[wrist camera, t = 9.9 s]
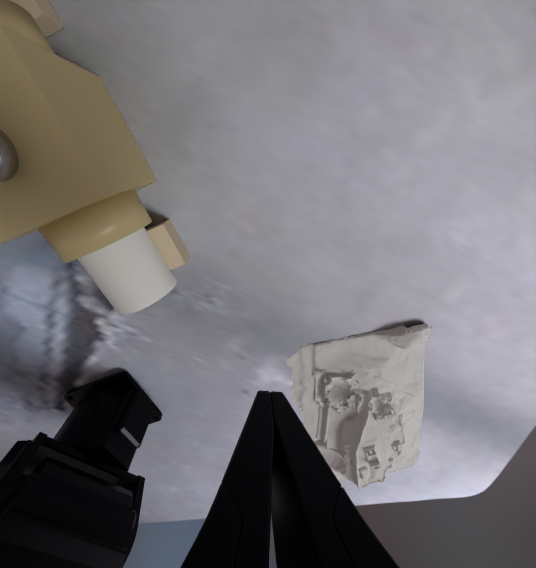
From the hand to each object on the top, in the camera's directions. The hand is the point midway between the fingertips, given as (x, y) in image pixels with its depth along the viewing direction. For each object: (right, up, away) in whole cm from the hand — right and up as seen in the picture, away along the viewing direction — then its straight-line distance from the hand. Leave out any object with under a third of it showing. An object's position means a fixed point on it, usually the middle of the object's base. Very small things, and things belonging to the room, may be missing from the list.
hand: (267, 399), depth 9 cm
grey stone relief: (+9, -10, +21) cm, 25 cm away
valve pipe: (-11, +12, +8) cm, 18 cm away
